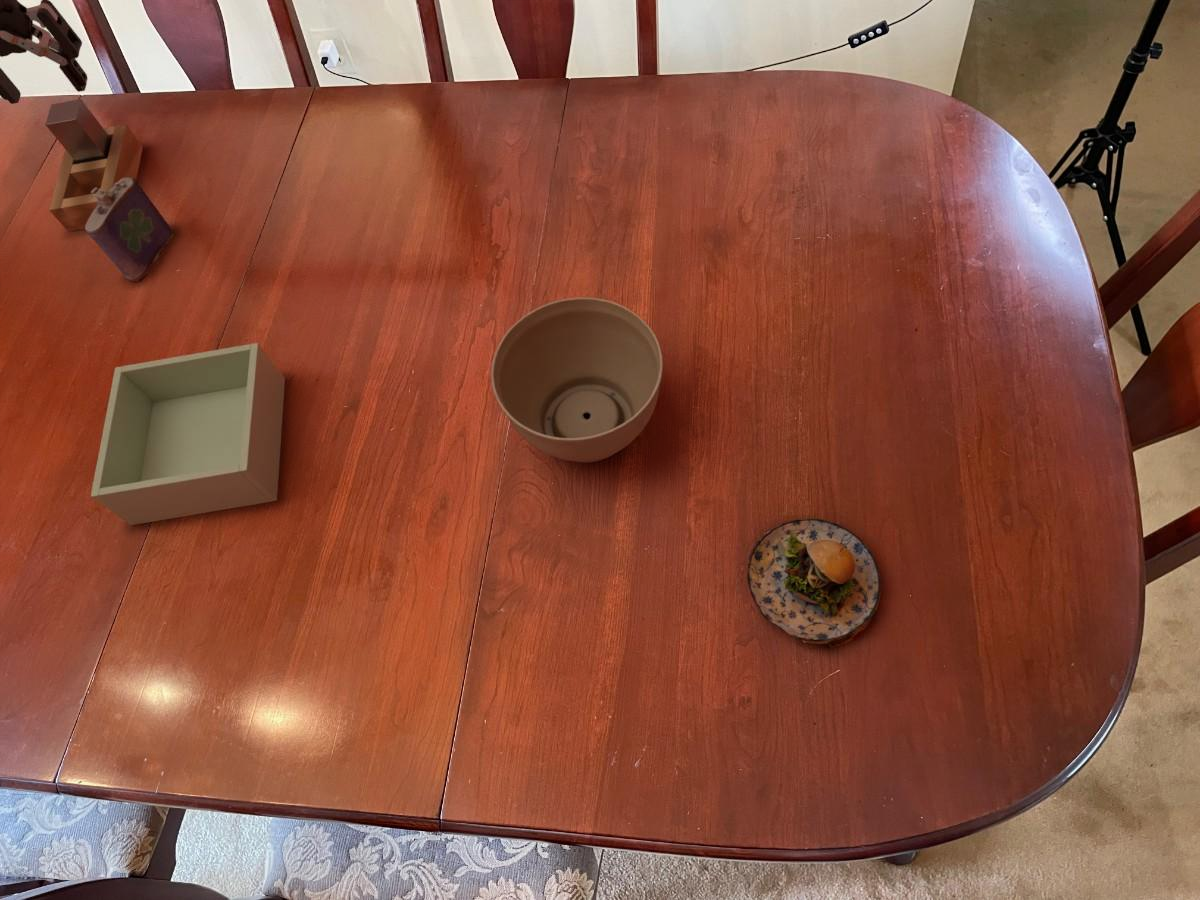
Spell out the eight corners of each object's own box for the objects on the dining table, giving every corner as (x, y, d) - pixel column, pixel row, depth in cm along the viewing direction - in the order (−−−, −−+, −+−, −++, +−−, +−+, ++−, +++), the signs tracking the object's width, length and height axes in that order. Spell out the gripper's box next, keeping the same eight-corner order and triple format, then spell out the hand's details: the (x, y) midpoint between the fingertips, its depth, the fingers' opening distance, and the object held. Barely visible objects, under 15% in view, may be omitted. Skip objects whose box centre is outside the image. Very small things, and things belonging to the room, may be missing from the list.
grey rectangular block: (94, 185, 115) (45, 124, 107) (99, 164, 117) (51, 104, 109) (122, 179, 115) (75, 119, 107) (127, 159, 117) (81, 98, 109)
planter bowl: (550, 519, 83) (530, 468, 74) (490, 399, 91) (466, 338, 82) (694, 451, 85) (693, 392, 76) (624, 339, 93) (615, 273, 84)
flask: (140, 284, 105) (86, 221, 96) (121, 280, 106) (65, 217, 97) (178, 230, 109) (130, 165, 100) (159, 226, 110) (109, 161, 101)
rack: (68, 232, 111) (48, 209, 108) (87, 157, 119) (69, 134, 115) (128, 221, 111) (109, 199, 108) (143, 147, 118) (126, 123, 115)
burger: (737, 532, 81) (740, 497, 74) (862, 518, 80) (876, 482, 74) (758, 656, 75) (763, 630, 68) (893, 642, 74) (911, 614, 68)
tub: (130, 525, 88) (90, 496, 82) (150, 401, 96) (114, 367, 90) (277, 500, 88) (246, 470, 82) (285, 378, 96) (258, 342, 90)
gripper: (-125, -2, 90) (-12, 123, 104) (4, -27, 89) (100, 102, 103) (-105, -43, 93) (2, 84, 107) (19, -67, 93) (110, 64, 107)
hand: (50, 93), depth 105 cm, fingers open, 8 cm apart
